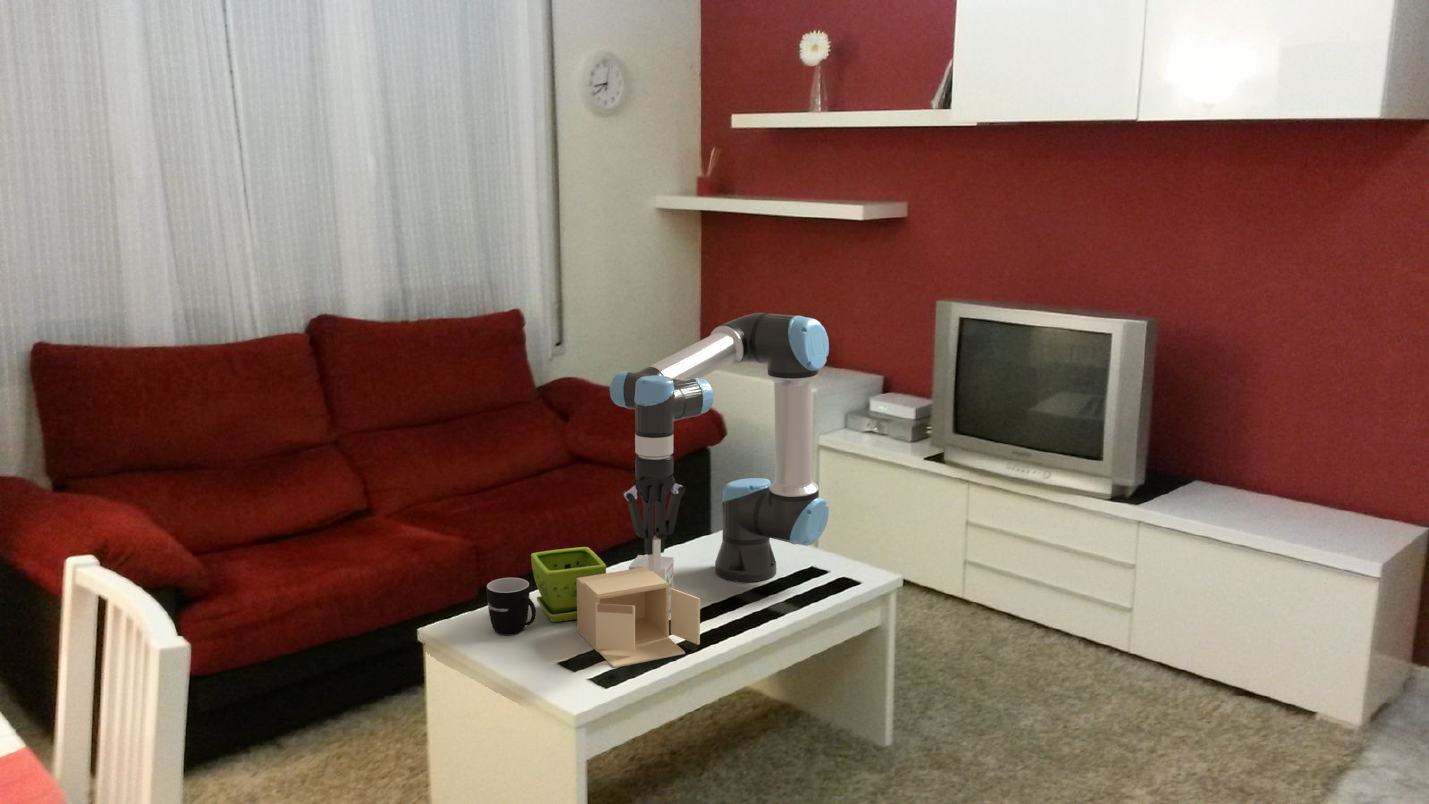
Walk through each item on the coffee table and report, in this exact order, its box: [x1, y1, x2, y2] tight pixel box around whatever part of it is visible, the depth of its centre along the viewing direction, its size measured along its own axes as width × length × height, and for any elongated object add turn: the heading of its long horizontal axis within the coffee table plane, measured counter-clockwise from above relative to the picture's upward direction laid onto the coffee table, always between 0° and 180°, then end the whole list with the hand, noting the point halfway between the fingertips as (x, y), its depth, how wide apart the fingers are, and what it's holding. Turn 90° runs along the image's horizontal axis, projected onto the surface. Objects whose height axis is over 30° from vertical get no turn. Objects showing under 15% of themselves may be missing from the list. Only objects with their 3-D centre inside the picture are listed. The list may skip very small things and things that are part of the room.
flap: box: [596, 603, 635, 651], centre depth 228 cm, size 8×1×10 cm, turn 82°
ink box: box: [628, 554, 674, 612], centre depth 252 cm, size 8×8×12 cm
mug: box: [486, 577, 537, 636], centre depth 240 cm, size 12×9×10 cm
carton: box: [576, 567, 701, 669], centre depth 236 cm, size 19×20×12 cm
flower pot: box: [530, 546, 607, 623], centre depth 251 cm, size 14×14×13 cm
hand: (654, 568), depth 227 cm, fingers closed
